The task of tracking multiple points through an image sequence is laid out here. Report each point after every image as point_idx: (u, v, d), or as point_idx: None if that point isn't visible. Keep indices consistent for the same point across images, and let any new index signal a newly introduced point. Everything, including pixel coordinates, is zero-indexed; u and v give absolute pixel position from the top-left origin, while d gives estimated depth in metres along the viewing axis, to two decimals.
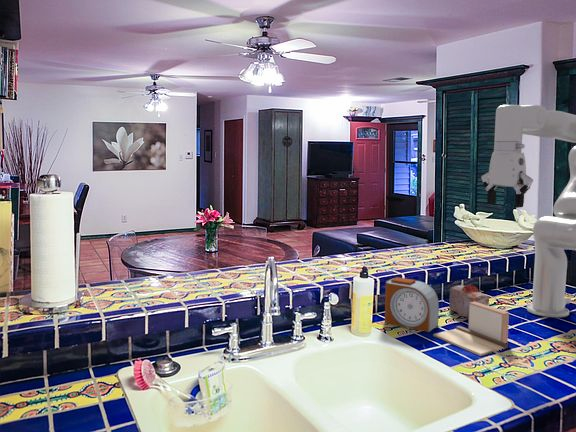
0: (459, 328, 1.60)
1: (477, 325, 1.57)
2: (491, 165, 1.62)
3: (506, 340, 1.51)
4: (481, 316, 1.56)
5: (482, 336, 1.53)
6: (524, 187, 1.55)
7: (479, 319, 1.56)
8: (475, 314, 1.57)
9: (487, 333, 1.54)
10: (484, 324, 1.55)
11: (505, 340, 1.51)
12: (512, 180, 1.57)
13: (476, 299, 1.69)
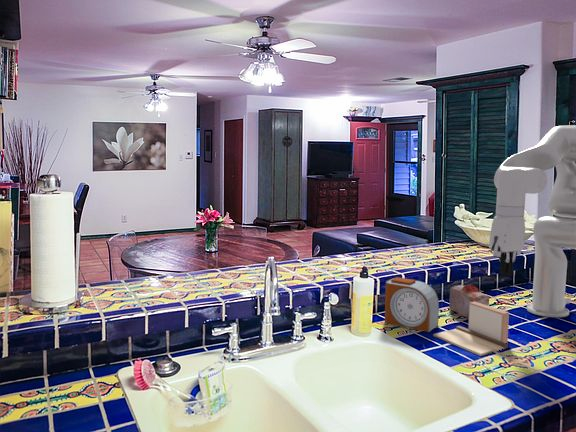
0: (459, 328, 1.60)
1: (477, 325, 1.57)
2: (506, 232, 1.51)
3: (506, 340, 1.51)
4: (481, 316, 1.56)
5: (482, 336, 1.53)
6: (516, 254, 1.57)
7: (479, 319, 1.56)
8: (475, 314, 1.57)
9: (487, 333, 1.54)
10: (484, 324, 1.55)
11: (505, 340, 1.51)
12: (523, 244, 1.56)
13: (476, 299, 1.69)
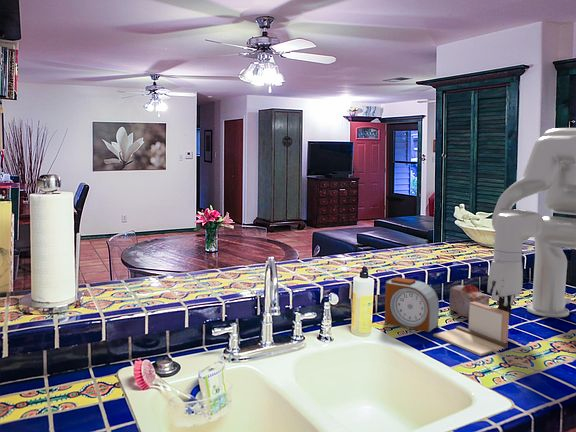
0: (459, 328, 1.60)
1: (477, 325, 1.57)
2: (504, 277, 1.53)
3: (506, 340, 1.51)
4: (481, 316, 1.55)
5: (482, 336, 1.53)
6: (514, 297, 1.58)
7: (479, 319, 1.56)
8: (475, 314, 1.57)
9: (487, 333, 1.54)
10: (484, 324, 1.55)
11: (505, 340, 1.51)
12: (520, 287, 1.58)
13: (476, 299, 1.69)
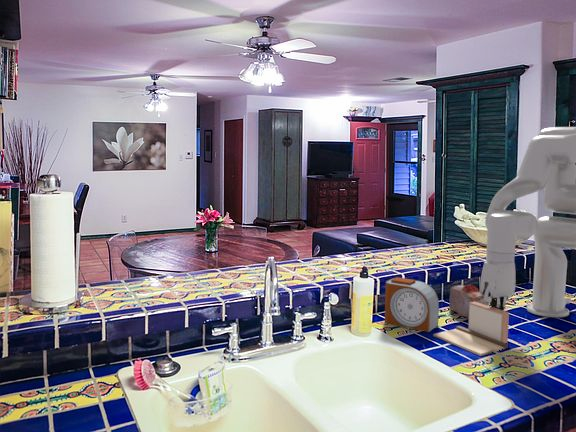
0: (459, 328, 1.60)
1: (477, 325, 1.57)
2: (496, 278, 1.52)
3: (506, 340, 1.51)
4: (481, 316, 1.55)
5: (482, 336, 1.53)
6: (506, 298, 1.57)
7: (479, 319, 1.56)
8: (475, 314, 1.57)
9: (487, 333, 1.54)
10: (484, 324, 1.55)
11: (505, 340, 1.51)
12: (513, 288, 1.56)
13: (476, 299, 1.69)
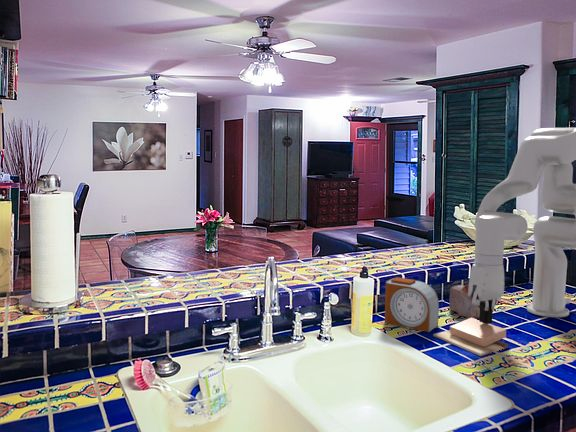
0: None
1: None
2: (485, 281, 1.49)
3: (503, 331, 1.50)
4: None
5: None
6: (495, 301, 1.55)
7: None
8: None
9: None
10: None
11: (503, 334, 1.50)
12: (502, 291, 1.54)
13: None
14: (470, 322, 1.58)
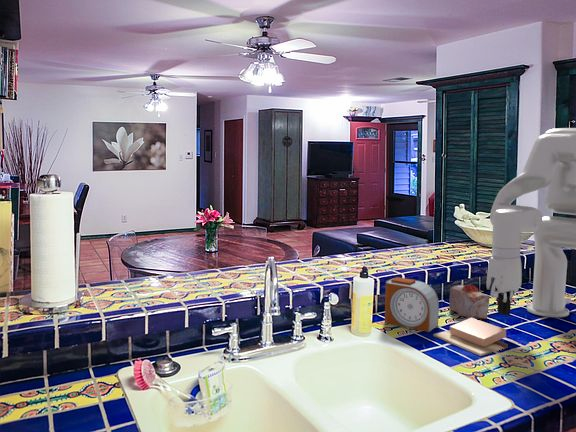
0: None
1: None
2: (503, 273, 1.53)
3: (503, 331, 1.50)
4: None
5: None
6: (513, 293, 1.58)
7: None
8: None
9: None
10: None
11: (503, 334, 1.50)
12: (519, 283, 1.57)
13: (476, 299, 1.69)
14: (470, 322, 1.58)
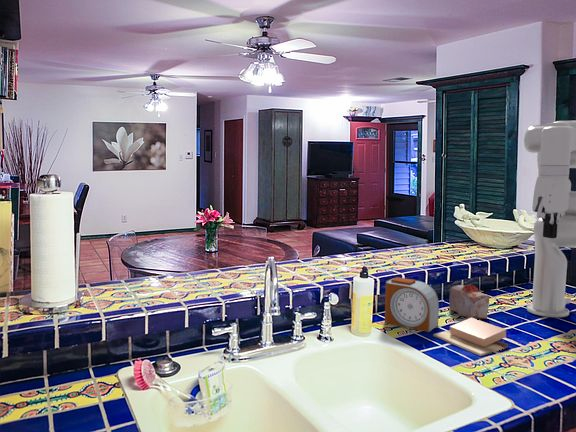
0: None
1: None
2: (551, 192, 1.47)
3: (503, 331, 1.50)
4: None
5: None
6: (559, 216, 1.52)
7: None
8: None
9: None
10: None
11: (503, 334, 1.50)
12: (567, 205, 1.51)
13: (476, 299, 1.69)
14: (470, 322, 1.58)
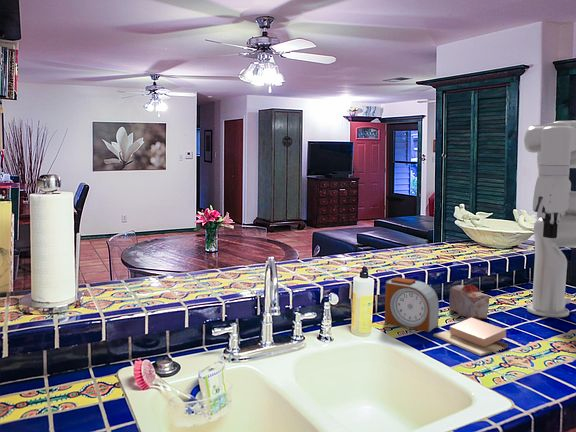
0: None
1: None
2: (551, 192, 1.47)
3: (503, 331, 1.50)
4: None
5: None
6: (560, 216, 1.52)
7: None
8: None
9: None
10: None
11: (503, 334, 1.50)
12: (567, 205, 1.51)
13: (476, 299, 1.69)
14: (470, 322, 1.58)
